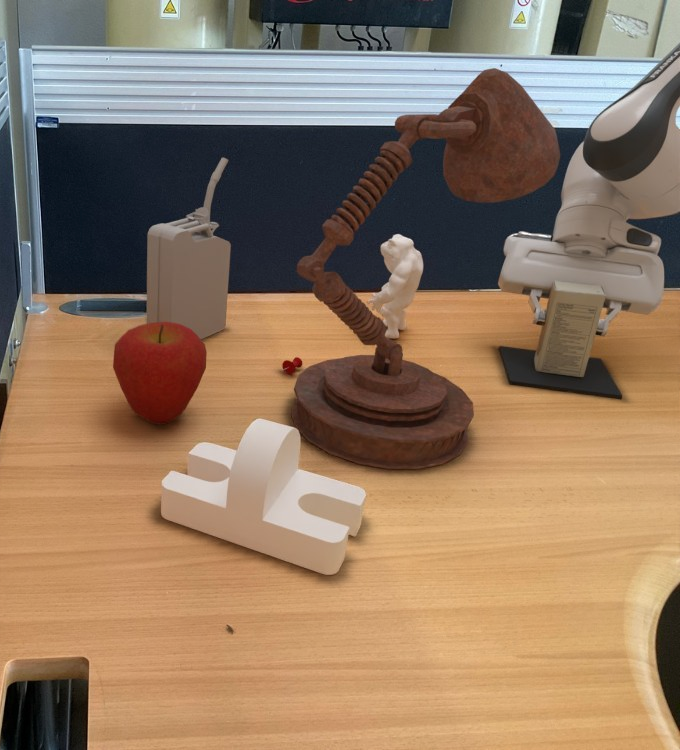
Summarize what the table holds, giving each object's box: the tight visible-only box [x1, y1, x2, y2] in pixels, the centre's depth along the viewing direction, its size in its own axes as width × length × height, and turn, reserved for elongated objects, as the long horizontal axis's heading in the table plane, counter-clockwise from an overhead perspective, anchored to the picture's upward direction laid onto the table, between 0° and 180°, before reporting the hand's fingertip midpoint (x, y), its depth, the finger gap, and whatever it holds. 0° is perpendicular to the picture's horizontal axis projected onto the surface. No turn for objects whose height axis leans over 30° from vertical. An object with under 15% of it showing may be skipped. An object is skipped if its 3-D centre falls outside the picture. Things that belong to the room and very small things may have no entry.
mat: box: [498, 345, 623, 400], centre depth 106 cm, size 14×12×1 cm
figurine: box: [366, 233, 424, 339], centre depth 114 cm, size 11×7×15 cm, turn 150°
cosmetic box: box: [534, 280, 606, 377], centre depth 104 cm, size 6×4×12 cm
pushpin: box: [281, 356, 303, 375], centre depth 103 cm, size 4×2×2 cm, turn 138°
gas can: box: [145, 157, 232, 340], centre depth 109 cm, size 15×5×25 cm, turn 138°
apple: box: [112, 322, 208, 425], centre depth 89 cm, size 11×11×12 cm
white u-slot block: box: [160, 417, 367, 576], centre depth 72 cm, size 10×18×10 cm, turn 63°
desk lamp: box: [290, 67, 561, 470], centre depth 84 cm, size 21×32×40 cm, turn 119°
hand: (568, 328), depth 103 cm, fingers closed on cosmetic box, 6 cm apart
